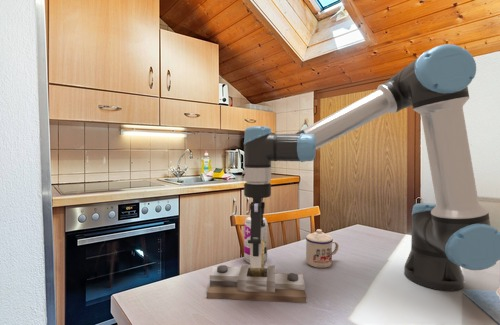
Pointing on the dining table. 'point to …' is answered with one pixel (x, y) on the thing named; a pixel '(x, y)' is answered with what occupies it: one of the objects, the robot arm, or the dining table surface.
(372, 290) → the dining table surface
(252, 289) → the pin insertion fixture
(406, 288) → the dining table surface
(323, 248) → the teacup with lid
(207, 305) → the dining table surface
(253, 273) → the brass pin
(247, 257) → the supplement can
